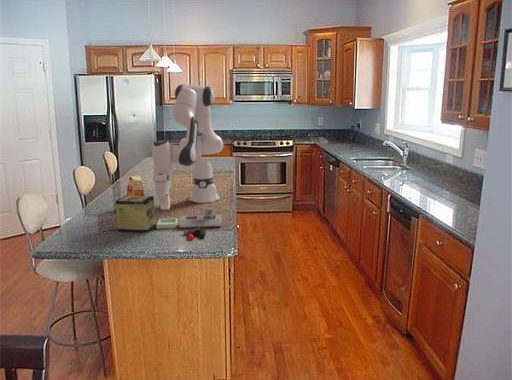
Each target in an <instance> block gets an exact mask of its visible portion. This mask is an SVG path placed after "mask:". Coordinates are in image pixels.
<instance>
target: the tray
mask: <svg viewBox="0 0 512 380" xmlns="http://www.w3.org/2000/svg"><path fill="white" fill-rule="evenodd" d="M178 221H179V220H178V217H174V218H173V217H172V218H159V219H158V221H157V223H156V226H155V227H156V229H158V230H159V229H160V230H161V229H175V228H176V226H177V225H178V224H179V223H178Z"/></svg>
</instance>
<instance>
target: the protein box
mask: <svg viewBox="0 0 512 380" xmlns="http://www.w3.org/2000/svg"><path fill="white" fill-rule="evenodd" d="M154 197H155V196H154V195H145V196H127V195H124V196H122V197H121V198H119V199H117V200H115V210H116V211H115V212H116V220H117V221H116V222H117V231H118V232H121V233H122V232H125V233H145V234H146V233H147V234H148V233H149V232H150V231H152V229H154V228H155V227H156V224H157V223H156V214H155V213H156V211H155V210H156V209H155V198H154Z"/></svg>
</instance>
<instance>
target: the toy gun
mask: <svg viewBox="0 0 512 380" xmlns="http://www.w3.org/2000/svg"><path fill="white" fill-rule="evenodd" d="M206 232H207V231H206V229H202V230H201V228H200V226H199V225H197V228H196V229H191V230H190V229H184V230H183V232H182V233H183V235H184V236H187V237H188V239H189V240H190V241H194V239H195V237H198V238H199V239H205V236H206V235H207V233H206Z"/></svg>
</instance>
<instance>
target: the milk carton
mask: <svg viewBox="0 0 512 380" xmlns="http://www.w3.org/2000/svg"><path fill="white" fill-rule="evenodd" d="M126 196H146V193H145V187H144V184H143V180H142V177H141V174H140V175H139V174H129V178H128V182H127V186H126Z"/></svg>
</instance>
